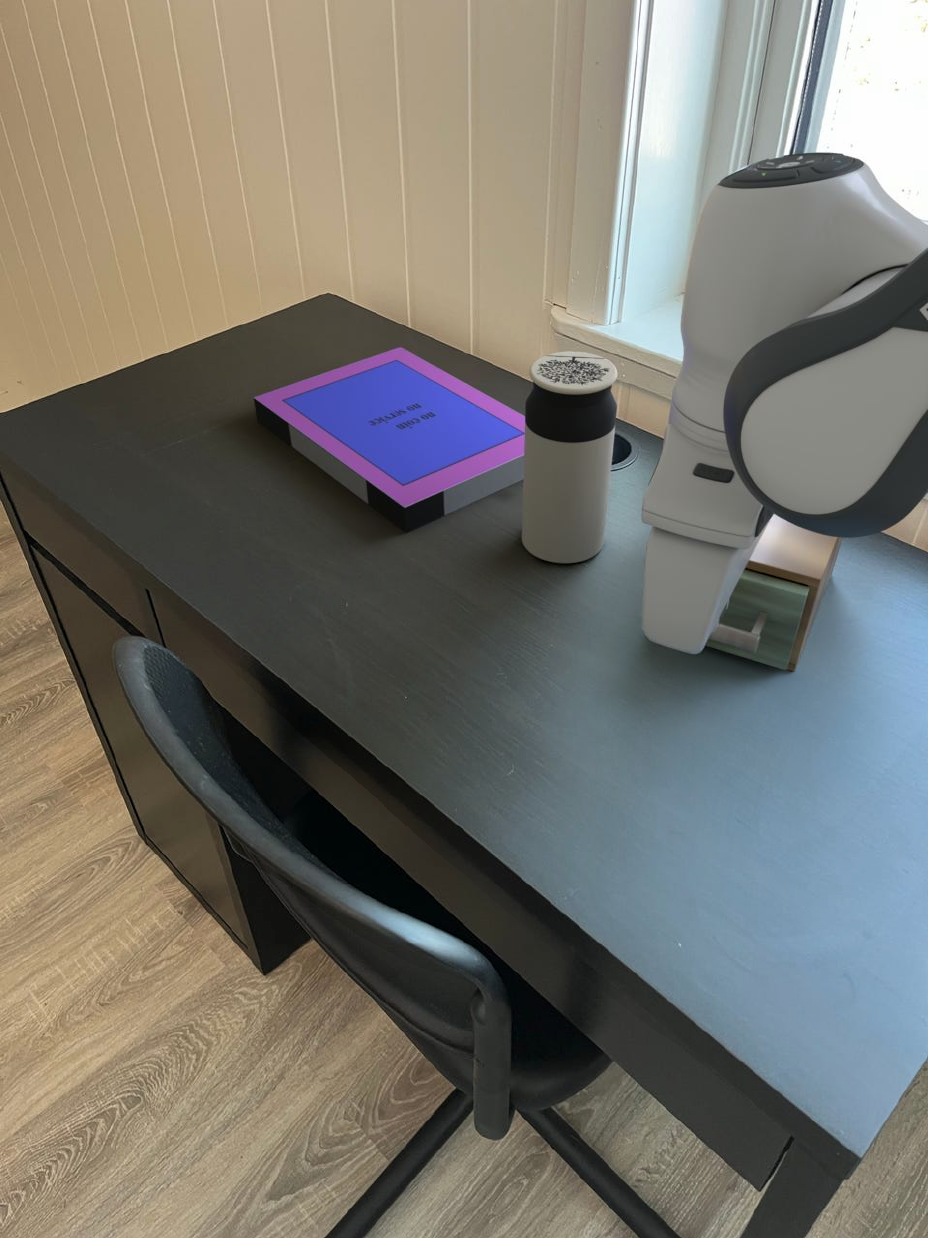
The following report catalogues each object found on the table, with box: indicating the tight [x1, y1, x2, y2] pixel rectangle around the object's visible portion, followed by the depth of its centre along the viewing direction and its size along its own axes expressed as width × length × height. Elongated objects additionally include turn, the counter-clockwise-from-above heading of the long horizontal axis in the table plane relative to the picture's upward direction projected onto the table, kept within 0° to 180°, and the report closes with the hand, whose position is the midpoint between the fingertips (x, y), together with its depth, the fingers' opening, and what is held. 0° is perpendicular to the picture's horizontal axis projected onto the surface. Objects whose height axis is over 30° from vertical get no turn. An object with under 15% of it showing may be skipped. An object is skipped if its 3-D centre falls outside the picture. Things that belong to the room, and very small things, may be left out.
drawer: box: [705, 569, 810, 671], centre depth 79 cm, size 18×11×8 cm, turn 152°
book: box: [252, 346, 525, 534], centre depth 107 cm, size 21×3×30 cm
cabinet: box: [745, 514, 844, 672], centre depth 82 cm, size 15×13×10 cm
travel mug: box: [521, 350, 618, 564], centre depth 86 cm, size 8×8×18 cm
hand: (708, 619), depth 66 cm, fingers closed
